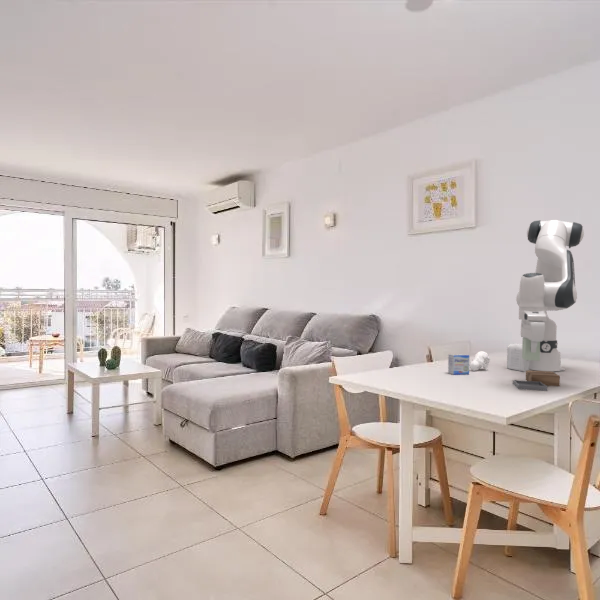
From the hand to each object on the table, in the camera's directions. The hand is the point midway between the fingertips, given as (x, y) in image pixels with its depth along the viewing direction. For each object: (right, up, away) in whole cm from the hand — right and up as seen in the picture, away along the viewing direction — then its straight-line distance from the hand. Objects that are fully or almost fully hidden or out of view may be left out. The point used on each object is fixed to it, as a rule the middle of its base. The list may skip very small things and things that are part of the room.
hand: (531, 351), depth 174 cm
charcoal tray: (0, -14, 0) cm, 14 cm away
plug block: (0, -3, 0) cm, 3 cm away
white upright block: (+14, -14, +40) cm, 45 cm away
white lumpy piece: (-5, -13, +38) cm, 41 cm away
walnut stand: (+9, -14, +9) cm, 19 cm away
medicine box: (-18, -13, +28) cm, 36 cm away
